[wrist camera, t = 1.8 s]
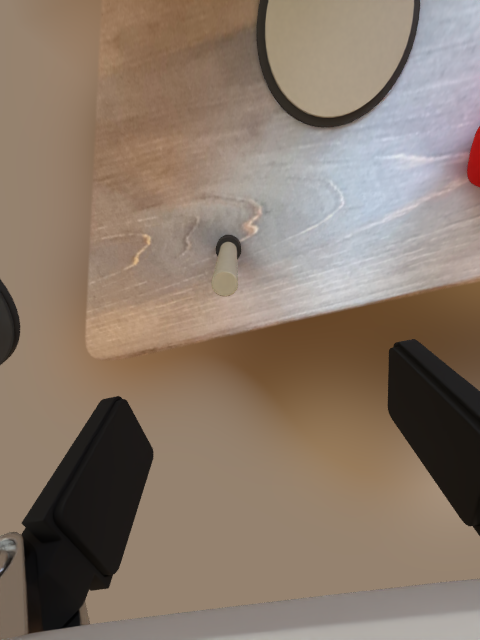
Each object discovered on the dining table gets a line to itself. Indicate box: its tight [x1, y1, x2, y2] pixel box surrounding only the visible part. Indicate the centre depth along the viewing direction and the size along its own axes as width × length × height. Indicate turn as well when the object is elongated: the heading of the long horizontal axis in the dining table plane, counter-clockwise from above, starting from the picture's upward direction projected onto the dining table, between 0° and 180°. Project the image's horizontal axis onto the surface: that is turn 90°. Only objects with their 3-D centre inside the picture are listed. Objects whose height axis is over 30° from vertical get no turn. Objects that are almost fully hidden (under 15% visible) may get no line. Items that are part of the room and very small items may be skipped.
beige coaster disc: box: [257, 0, 420, 127], centre depth 20 cm, size 12×12×1 cm
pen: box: [211, 235, 241, 296], centre depth 21 cm, size 2×2×12 cm
